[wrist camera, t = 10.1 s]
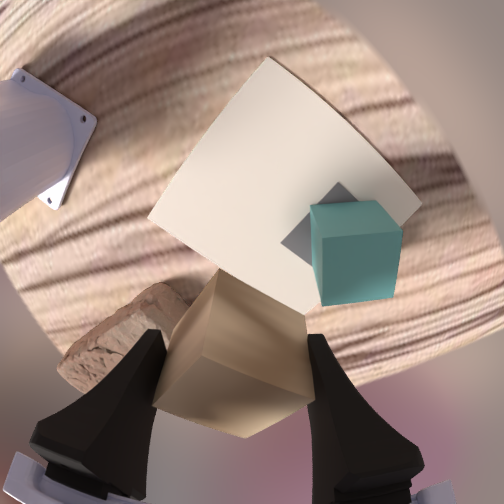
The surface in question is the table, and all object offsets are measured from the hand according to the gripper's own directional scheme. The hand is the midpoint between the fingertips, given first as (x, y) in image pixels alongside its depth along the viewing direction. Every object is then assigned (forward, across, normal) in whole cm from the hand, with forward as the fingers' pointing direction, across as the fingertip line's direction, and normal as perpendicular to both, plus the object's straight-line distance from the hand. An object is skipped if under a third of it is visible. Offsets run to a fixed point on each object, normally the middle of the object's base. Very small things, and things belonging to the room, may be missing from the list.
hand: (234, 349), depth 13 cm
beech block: (+2, 0, 0) cm, 2 cm away
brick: (+10, +11, +11) cm, 18 cm away
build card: (+9, -3, -3) cm, 10 cm away
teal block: (+9, -7, -1) cm, 11 cm away
